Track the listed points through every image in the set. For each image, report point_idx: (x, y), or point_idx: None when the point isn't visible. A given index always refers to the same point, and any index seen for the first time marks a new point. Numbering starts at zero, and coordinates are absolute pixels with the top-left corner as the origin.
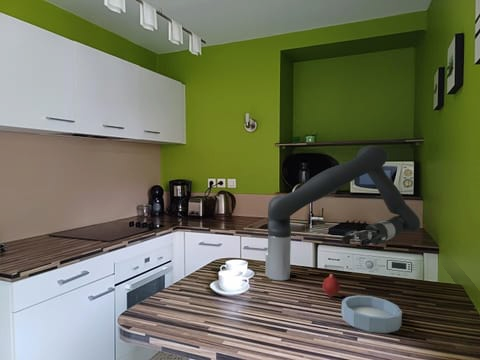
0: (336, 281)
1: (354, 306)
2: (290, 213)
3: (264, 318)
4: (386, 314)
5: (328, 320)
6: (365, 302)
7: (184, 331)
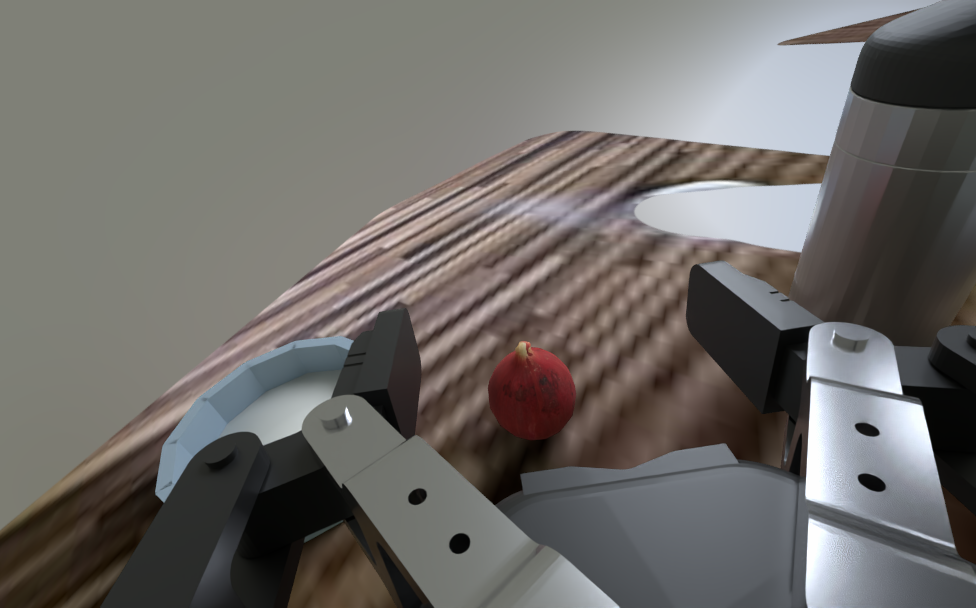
0: (497, 380)
1: None
2: None
3: (472, 240)
4: None
5: None
6: None
7: (484, 171)
